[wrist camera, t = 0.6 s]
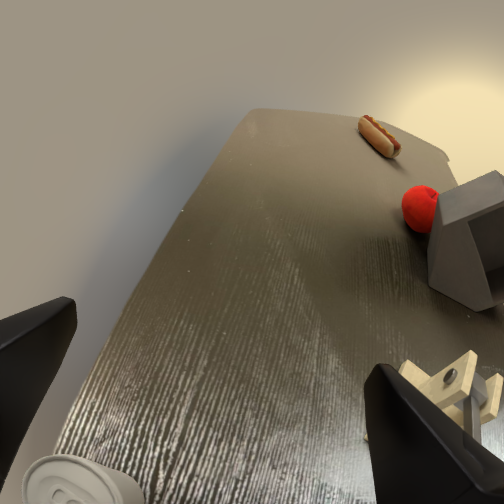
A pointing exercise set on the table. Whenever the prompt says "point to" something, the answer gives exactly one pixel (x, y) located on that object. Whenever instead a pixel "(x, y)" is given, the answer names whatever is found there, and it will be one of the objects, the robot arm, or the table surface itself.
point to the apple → (419, 208)
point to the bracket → (454, 387)
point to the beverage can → (77, 483)
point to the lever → (473, 407)
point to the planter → (469, 243)
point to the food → (378, 137)
